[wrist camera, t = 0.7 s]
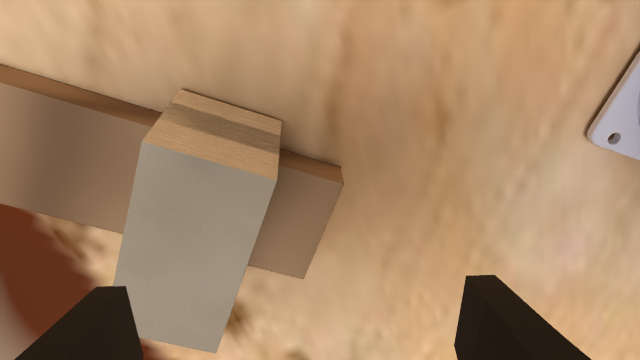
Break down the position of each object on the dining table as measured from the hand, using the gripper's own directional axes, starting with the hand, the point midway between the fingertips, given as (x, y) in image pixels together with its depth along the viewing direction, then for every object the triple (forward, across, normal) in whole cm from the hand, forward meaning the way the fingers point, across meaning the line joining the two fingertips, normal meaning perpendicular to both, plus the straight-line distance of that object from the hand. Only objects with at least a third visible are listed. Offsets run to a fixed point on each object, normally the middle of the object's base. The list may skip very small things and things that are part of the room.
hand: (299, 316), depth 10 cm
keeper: (+10, +4, +2) cm, 11 cm away
